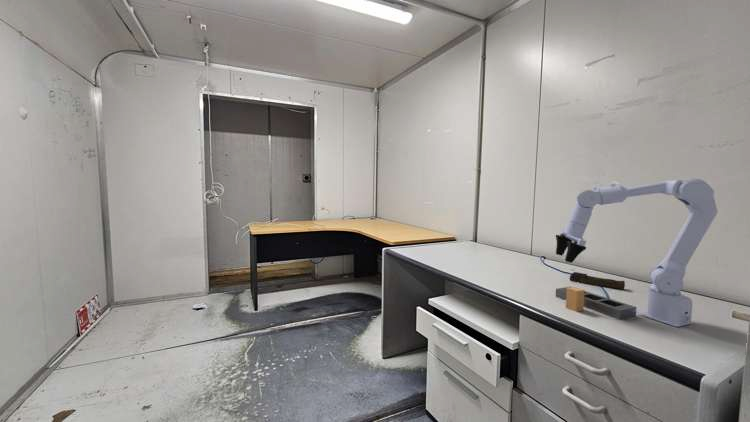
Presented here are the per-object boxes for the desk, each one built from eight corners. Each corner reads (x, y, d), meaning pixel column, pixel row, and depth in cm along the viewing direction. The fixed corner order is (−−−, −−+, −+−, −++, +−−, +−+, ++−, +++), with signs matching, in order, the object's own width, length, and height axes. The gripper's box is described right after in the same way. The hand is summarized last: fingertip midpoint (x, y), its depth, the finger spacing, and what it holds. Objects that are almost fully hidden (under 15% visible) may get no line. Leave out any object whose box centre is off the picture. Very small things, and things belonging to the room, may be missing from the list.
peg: (583, 310, 101) (584, 290, 100) (575, 311, 100) (576, 291, 99) (573, 306, 104) (574, 286, 104) (565, 307, 103) (566, 287, 103)
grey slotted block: (635, 316, 96) (636, 307, 96) (619, 319, 93) (620, 310, 93) (570, 294, 117) (570, 286, 117) (555, 296, 114) (555, 288, 114)
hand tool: (624, 289, 124) (625, 278, 123) (624, 291, 121) (624, 280, 120) (570, 280, 136) (571, 270, 136) (569, 282, 134) (569, 271, 133)
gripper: (557, 216, 113) (544, 249, 116) (576, 224, 99) (561, 262, 102) (576, 221, 113) (563, 253, 116) (598, 230, 99) (582, 267, 102)
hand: (563, 258), depth 109 cm, fingers open, 7 cm apart
